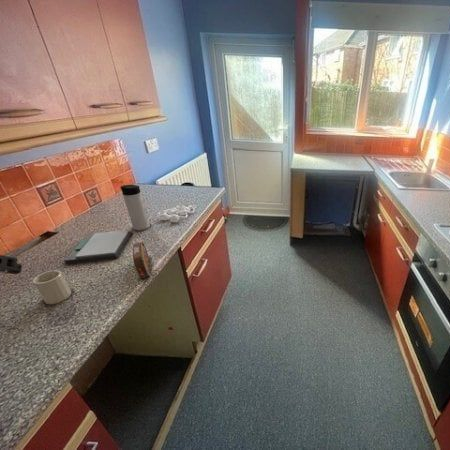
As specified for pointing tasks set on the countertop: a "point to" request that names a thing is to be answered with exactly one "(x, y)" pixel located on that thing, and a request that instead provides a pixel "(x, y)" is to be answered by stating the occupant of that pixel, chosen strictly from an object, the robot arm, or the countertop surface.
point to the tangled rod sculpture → (174, 217)
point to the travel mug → (135, 207)
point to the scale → (99, 247)
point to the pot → (52, 286)
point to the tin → (141, 259)
